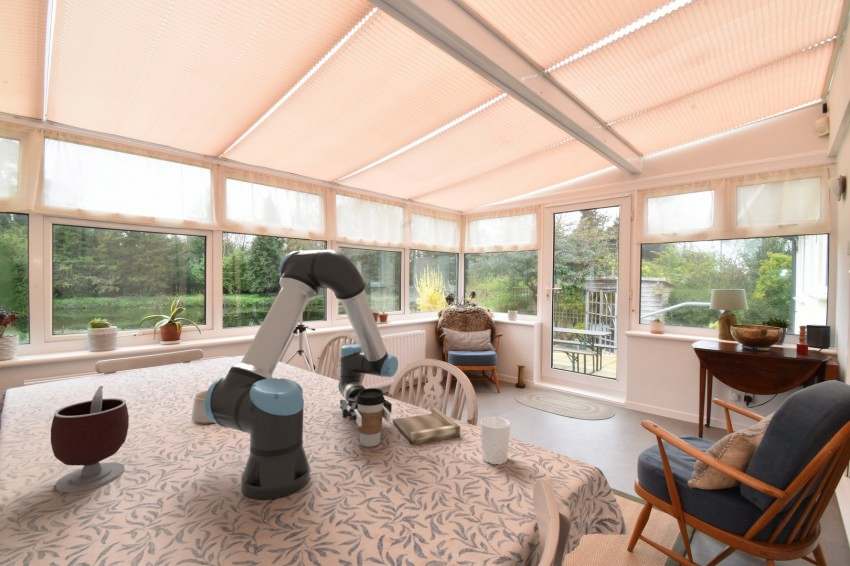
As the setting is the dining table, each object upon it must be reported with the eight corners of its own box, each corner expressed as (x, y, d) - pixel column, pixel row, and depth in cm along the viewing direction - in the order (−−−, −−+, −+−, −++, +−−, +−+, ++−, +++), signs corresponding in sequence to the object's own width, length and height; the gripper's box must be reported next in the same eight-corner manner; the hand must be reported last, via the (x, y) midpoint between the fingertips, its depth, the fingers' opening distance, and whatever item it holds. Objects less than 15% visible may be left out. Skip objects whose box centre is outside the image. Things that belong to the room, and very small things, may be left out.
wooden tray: (412, 445, 108) (412, 434, 108) (392, 422, 125) (392, 413, 125) (460, 436, 115) (460, 426, 115) (435, 416, 131) (435, 407, 131)
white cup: (512, 466, 97) (512, 428, 97) (482, 465, 97) (482, 427, 97) (506, 452, 105) (506, 417, 105) (478, 451, 105) (478, 416, 105)
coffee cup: (386, 437, 113) (387, 388, 113) (380, 449, 105) (381, 397, 105) (360, 435, 114) (360, 387, 114) (352, 448, 106) (352, 395, 106)
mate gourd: (122, 484, 86) (122, 398, 86) (39, 501, 79) (39, 408, 79) (134, 456, 100) (134, 382, 100) (65, 468, 93) (65, 389, 93)
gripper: (385, 403, 130) (408, 427, 109) (325, 410, 122) (338, 438, 101) (385, 382, 130) (408, 402, 109) (326, 388, 122) (338, 411, 101)
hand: (374, 419), depth 105 cm, fingers closed on coffee cup, 8 cm apart
